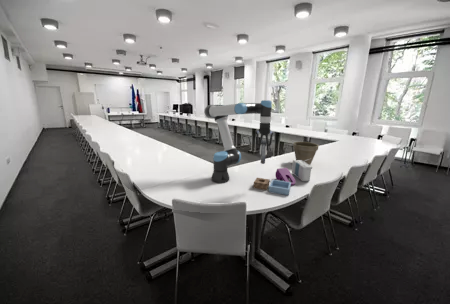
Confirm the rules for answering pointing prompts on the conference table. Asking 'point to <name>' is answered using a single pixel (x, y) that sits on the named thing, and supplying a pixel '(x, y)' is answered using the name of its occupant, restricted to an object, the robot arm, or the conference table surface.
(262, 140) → the steel pin
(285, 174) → the mounting bracket
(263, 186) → the block
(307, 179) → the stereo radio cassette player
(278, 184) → the parts tray
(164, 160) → the conference table surface
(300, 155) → the plant pot
